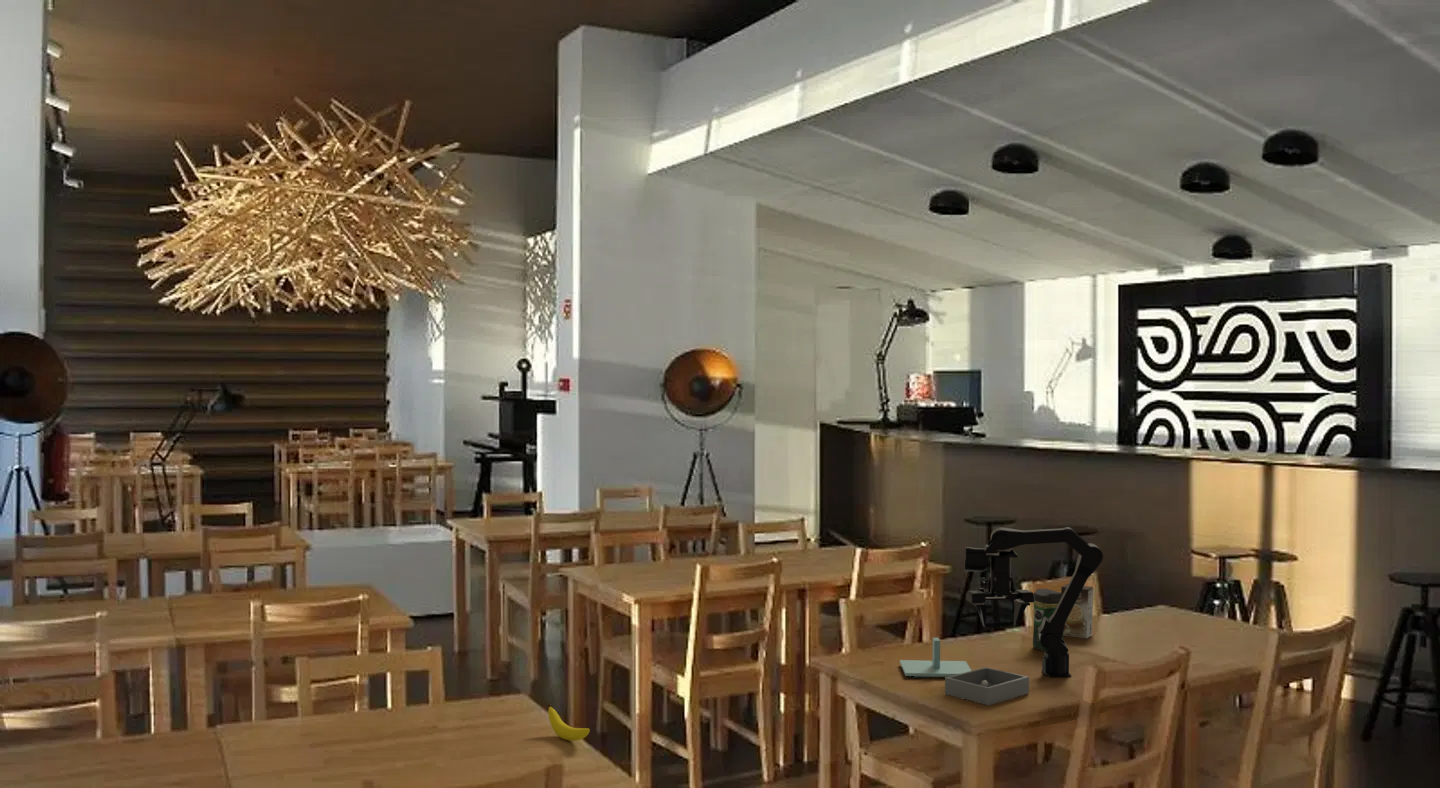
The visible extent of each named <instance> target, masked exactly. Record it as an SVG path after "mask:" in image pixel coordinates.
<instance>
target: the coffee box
mask: <svg viewBox="0 0 1440 788" xmlns="http://www.w3.org/2000/svg"><path fill="white" fill-rule="evenodd" d="M1068 584H1069V583H1066V584H1064V585H1062V586H1061V590H1060V591H1061V592H1060V593H1061V594H1063V593H1064V591H1065V589H1066V588H1067V586H1068ZM1093 600H1094V587H1093V586H1087V585H1084V587H1083V589H1082V591H1081V593H1080V595H1079V597H1078V599H1077V601H1076V603H1075V605H1074V606H1073V608H1072V610H1071V612H1070V614H1069V616H1068V618H1067V620H1066V623H1065V627H1064V632H1063V637H1064V636H1065V637H1073V638H1079V639H1088V638H1090V637H1091V636H1092V635H1093V611H1094V610H1093V609H1094V607H1093V604H1094V603H1093V602H1094V601H1093Z"/></svg>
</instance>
